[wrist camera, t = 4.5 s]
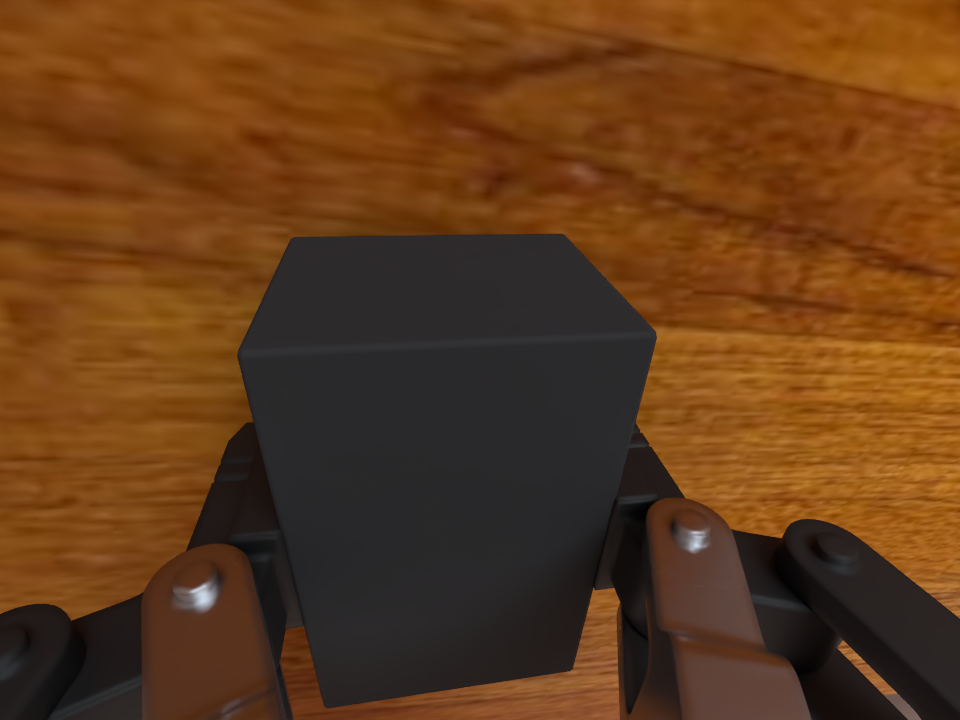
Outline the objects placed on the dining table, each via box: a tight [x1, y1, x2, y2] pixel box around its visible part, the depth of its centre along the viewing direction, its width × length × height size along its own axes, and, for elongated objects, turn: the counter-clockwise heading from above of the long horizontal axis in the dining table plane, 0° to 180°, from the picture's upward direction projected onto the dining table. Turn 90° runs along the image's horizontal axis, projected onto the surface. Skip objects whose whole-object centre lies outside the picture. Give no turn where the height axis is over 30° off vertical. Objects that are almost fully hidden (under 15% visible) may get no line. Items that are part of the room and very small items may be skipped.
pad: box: [237, 234, 657, 708], centre depth 10 cm, size 8×5×4 cm, turn 178°
